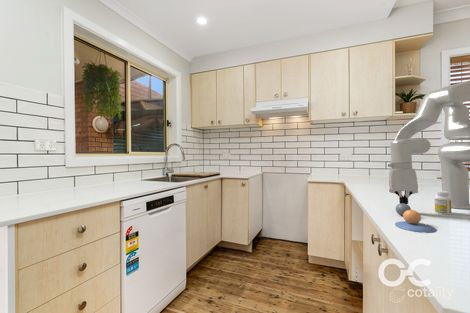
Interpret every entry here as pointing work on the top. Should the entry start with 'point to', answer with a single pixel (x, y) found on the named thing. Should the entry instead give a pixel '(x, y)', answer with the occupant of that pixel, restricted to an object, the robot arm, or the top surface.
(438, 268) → the top surface
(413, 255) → the top surface
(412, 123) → the robot arm
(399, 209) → the grey ball
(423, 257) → the top surface
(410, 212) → the object ball
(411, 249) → the top surface
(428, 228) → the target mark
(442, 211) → the supplement bottle
